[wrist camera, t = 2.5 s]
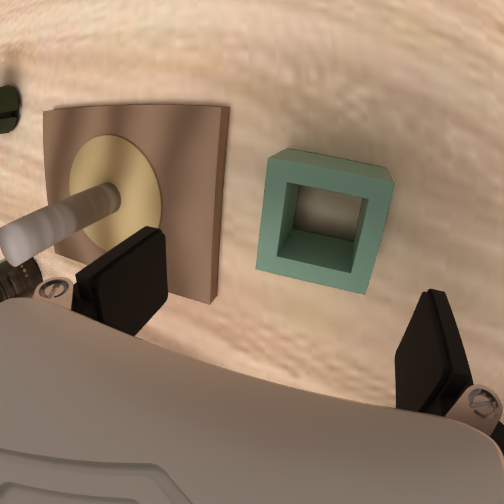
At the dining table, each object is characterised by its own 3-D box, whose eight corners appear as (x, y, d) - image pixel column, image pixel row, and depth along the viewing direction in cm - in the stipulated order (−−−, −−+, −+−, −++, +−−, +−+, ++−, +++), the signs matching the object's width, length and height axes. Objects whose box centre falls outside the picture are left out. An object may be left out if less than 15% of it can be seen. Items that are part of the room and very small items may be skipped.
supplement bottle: (15, 241, 37) (-47, 277, 27) (41, 261, 36) (-25, 305, 26) (19, 277, 41) (-36, 315, 30) (45, 299, 40) (-12, 343, 29)
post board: (229, 107, 22) (105, 112, 11) (216, 295, 29) (137, 397, 18) (53, 109, 26) (-52, 132, 15) (64, 248, 33) (-19, 300, 22)
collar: (386, 168, 20) (394, 182, 16) (365, 260, 23) (364, 294, 19) (286, 148, 22) (268, 157, 17) (275, 239, 25) (255, 269, 20)
